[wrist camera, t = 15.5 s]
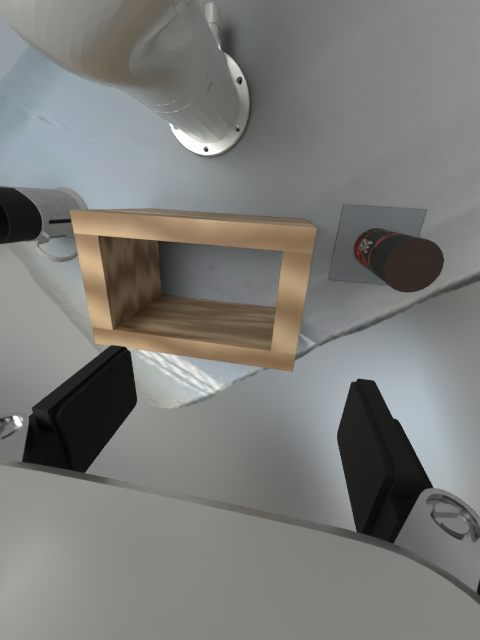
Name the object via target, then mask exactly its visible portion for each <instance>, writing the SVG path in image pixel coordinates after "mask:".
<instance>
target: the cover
mask: <svg viewBox="0 0 480 640" xmlns="http://www.w3.org/2000/svg"><path fill="white" fill-rule="evenodd" d="M70 215H71V221H72V226H73V231H74V236H75V241H76V246H77V252H78V257H79V262H80V267H81V272H82V277H83V283H84V288H85V293H86V298H87V303H88V308H89V314H90V319H91V324H92V329H93V334H94V339H95V343H97V344H104V345H116V346H124V347H126V348H132V349H139V350H146V351H153V352H160V353H167V354H174V355H181V356H188V357H195V358H202V359H208V360H215V361H222V362H229V363H236V364H243V365H250V366H257V367H264V368H271V369H278V370H286V371H293V368H294V362H295V356H296V350H297V344H298V338H299V332H300V326H301V320H302V314H303V308H304V302H305V296H306V290H307V284H308V278H309V273H310V267H311V261H312V255H313V249H314V243H315V237H316V231H317V227H315V226H314V225H313V224H311V223H310V222H309V221H307V220H306V219H296V218H281V217H267V216H252V215H237V214H223V213H208V212H193V211H179V210H164V209H94V210H70ZM158 241H170V242H182V243H194V244H206V245H217V246H229V247H241V248H253V249H265V250H277V251H283V256H282V264H281V272H280V281H279V289H278V297H277V305H276V308H273V307H264V306H255V305H247V304H238V303H229V302H220V301H211V300H202V299H193V298H185V297H176V296H167V295H162V291H161V276H160V262H159V247H158Z"/></svg>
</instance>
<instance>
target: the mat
mask: <svg viewBox="0 0 480 640" xmlns="http://www.w3.org/2000/svg"><path fill="white" fill-rule="evenodd" d="M425 213H426V209H410V208H393V207H376V206H360V205H343V209H342V214H341V219H340V224H339V229H338V234H337V239H336V244H335V249H334V254H333V259H332V264H331V269H330V274H329V280H339V281H349V282H360V283H370V284H380V285H388V284H387V283H385V282H384V281H383V280H382V279H380V278H379V277H378V276H376V275H375V274H374V273H373V272H371V271H370V270H369V269H367V268H366V267H365V266H364V265H362V264H361V263H360V262H359V261H358V260H357V259H356V258H355V256H354V244H355V242H356V240H357V238H358V237H359V236H360V235H361V234H362V233H364V232H365V231H367V230H369V229H374V228H379V229H384V230H389V231H393V232H397V233H401V234H405V235H409V236H414V237H418V235H419V232H420V229H421V226H422V223H423V220H424V216H425Z"/></svg>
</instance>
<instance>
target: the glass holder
mask: <svg viewBox="0 0 480 640" xmlns="http://www.w3.org/2000/svg"><path fill="white" fill-rule="evenodd" d="M70 210H88V208H87V206H86V204H85V202H84V201H83V199H82V198H81V197H80V196H79V195H78V194H77V193H75V192H74V191H72V190H70V189H68V188H57V189H54V190H50V189H35V188H21V187H7V186H0V244H5V243H13V242H20V241H27V242H28V241H37V240H38V241H37V242H36V244H35V250H36V251H37V252H38V253H39V254H40V255H41V256H43V257H45V258H47V259H49V260H52V261H56V262H65V261H69V260H72V259H73V258H75V257H76V256H77V255H78V252H76V253H75V254H73V255H71V256H68V257H63V258H58V257H54V256H51V255H49V254H47V253H45V252H44V251H42V250H41V249H40V248H39V244H42V243H47V242H49V241H50V239H51V238H59V237H66V236H67V237H71V238H75V236H74V231H73V226H72V221H71V215H70Z"/></svg>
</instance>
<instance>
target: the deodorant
mask: <svg viewBox="0 0 480 640" xmlns="http://www.w3.org/2000/svg"><path fill="white" fill-rule="evenodd" d="M354 256H355V258H356V259H357V260H358V261H359V262H360V263H361V264H362V265H364V266H365V267H366V268H367V269H369V270H370V271H371V272H373V273H374V274H375V275H376V276H378V277H379V278H380V279H382V280H383V281H384V282H385V283H387V284H388V285H389V286H391V287H392V288H393V289H395V290H397V291H400V292H415V291H419V290H422V289H424V288H425V287H427V286H429V285H430V284H431V283H433V282H434V281H435V280H436V278H437V277H438V276H439V275H440V272H441V270H442V268H443V262H444V259H443V253H442V251H441V249H440V248H439V247H438V246H437V245H436V244H435V243H434V242H431V241H429V240H426V239H422V238H418V237H414V236H409V235H405V234H401V233H397V232H393V231H389V230H384V229H379V228H374V229H369V230H367V231H365V232H364V233H362V234H361V235H360V236H359V237H358V238H357V240H356V242H355V244H354Z"/></svg>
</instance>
